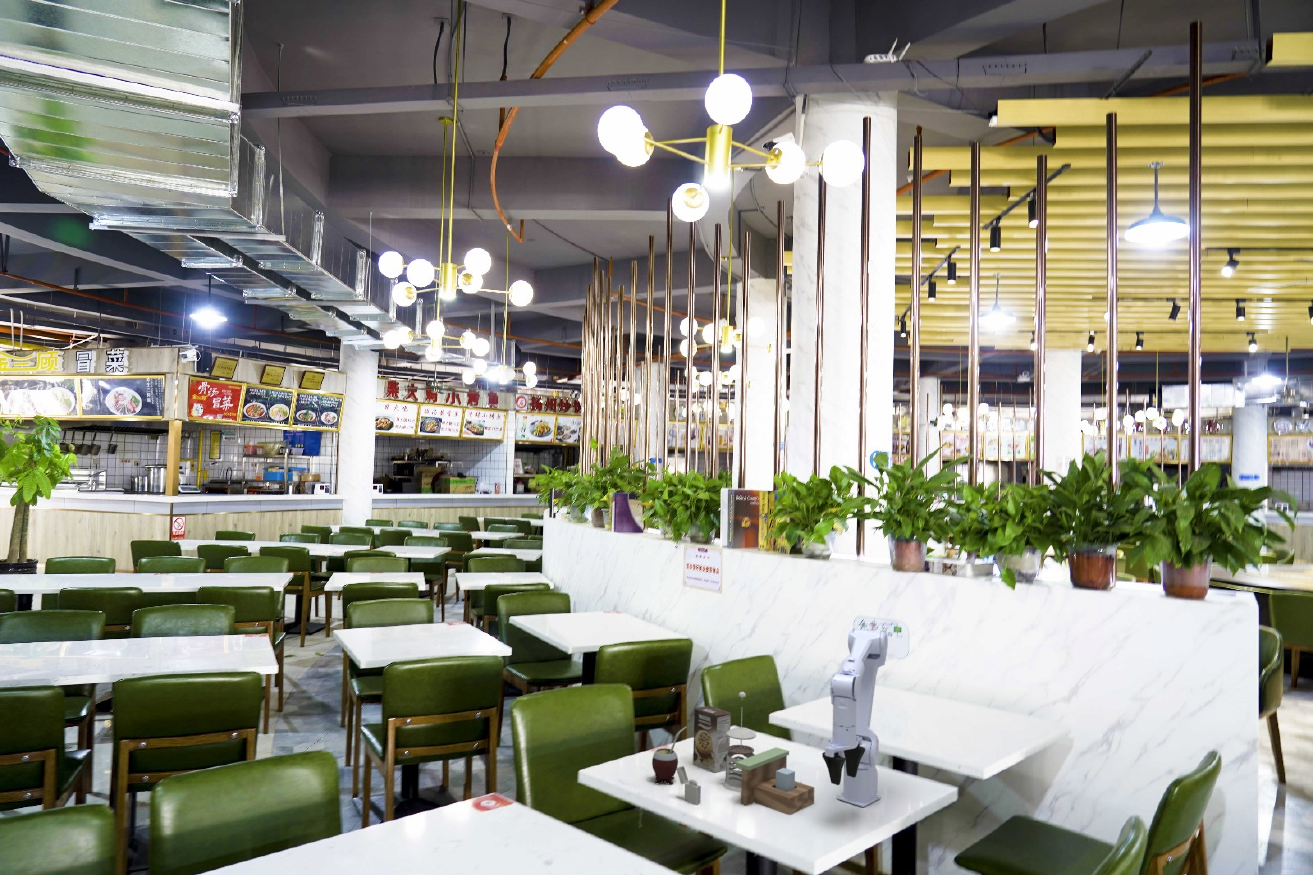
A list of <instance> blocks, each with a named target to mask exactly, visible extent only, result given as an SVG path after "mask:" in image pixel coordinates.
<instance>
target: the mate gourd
mask: <svg viewBox="0 0 1313 875" xmlns="http://www.w3.org/2000/svg"><path fill="white" fill-rule="evenodd" d="M687 728H688V727H687V726H686V725H685V727H683V728H681V729H680V730H678V732H677V733H676V734H675V735H674V740H673V743H672V745H671V748H658V749H656V750H655V752H654V753H653V756H652V759H651V761H652V762H651V766H652V769H653V772H654V775H655V781H654V784H656V783H658V784H662V783H666V784H668V783H669V784H668V785H673V784H674V782H673V780H675V777H674V775H675V774H676V772H677V770H676V768H678V767H679V766H678V765H679V758H678V754H677V753H676V751H675V750H674V748H675V746H676V742H677V739H678V738H679V737H680V734H681V733H682V732H683V731H684V730H686V729H687ZM661 782H662V783H661Z"/></svg>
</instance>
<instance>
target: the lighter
mask: <svg viewBox="0 0 1313 875" xmlns="http://www.w3.org/2000/svg"><path fill="white" fill-rule="evenodd" d="M676 772H677V776H678V779H679V783H680V784H681V785H684V802H687V803H690V804H692V805H695V806H698V805H699V804H701V798H702V797H701V794H702V793H701V792H702V791H701V788H702V786H701V785H699V784H698V782H697V780H695V779H689V778H688V775H687V772H686V769H685V766H684V765H680V766H677V768H676Z"/></svg>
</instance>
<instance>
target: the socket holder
mask: <svg viewBox="0 0 1313 875" xmlns="http://www.w3.org/2000/svg"><path fill="white" fill-rule="evenodd" d="M788 756H790V750H787V749H783V748H780V747H777V746H775V747H773V748H771V749H768V750H765V751H762V752H760V753H757V754H755V755H754V756H751V757H748V758H746V757H745V758H744V759H743V760H740V761H738V762H736V764H735V765H736V766H737V767H740V768H742V770H741V771H742V783H741V792H740V795H741V796H740V805H742V806H746V807H747V806H749V805H750V804H751V805H752V804H753V803H755V804H758V805H761V806H763V807H767V808H770V809H773V810H774V811H778V812H781V813H784V814H787V815H789V816H792V815H793V814H794V813H797V812H799V811H801V810H803V809H804V808H807V807H809V806H812V805H813V804H814V803H815V787H814V786H811V785H808V784H805V783H801V782H798V781H797V780H795V789H792V790H790V791H788V792H786V791H783V790H780V789H776V771H777V770H780V769H782V768H786V769H787V764H788V763H787V760H788V759H787V757H788Z"/></svg>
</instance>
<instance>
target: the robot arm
mask: <svg viewBox="0 0 1313 875" xmlns="http://www.w3.org/2000/svg"><path fill="white" fill-rule="evenodd" d="M847 635H848V636H847V647H848V650H849V654H850V655H849V656H848V657H845V658H844V659H843V661H842V663H841V665H840V668H839V670H838V672H837V673H835V674H834V675H832V676H831V680H830V682H829V683H830V684H829V693H830V699H831V700H830V702H831V705H832V737H830V738H828V743H829V744H828V745H827V746H826V747H824V752H822V755H821V756H822V759H823V761H824V762H825V764H826V767H827V771H828V775H829V778H830V783H831V784H833V785H835V786H840V784H841V780H842V778H843V785H842V787H843V789H842V792H843V793H841V794H839V795H837V796H836V799H837V800H840V801H843V802H845V803H848V804H853V805H855V806H858V807H861V808H865V807H866V806H868V805H870V804H872V803H874V802H875V801H878V800H879V799H882V797H881V795H879V793H878V791H879V790H878V787H879V786H878V785H879V780H878V779H879V774H878V773H879V772H878V769H877V768H876V767H877V766H876V765H877V763H878V761H879V754H880V749H879V744H880V740H879V737H878V734H876V733H875V732H874V731H873V730H872V729H871V728H870V727H871V722H872V713H873V712H872V711H873V703H874V696H875V687H876V678H877V674H878V671H879V668H881V667H882V666H885V664H886V661H887V654H888V647H889V646H888V643H889V642H888V640H889V638H888V635H887V633H886V631H877V630H876V631H874V630H866V629H857V628H856V629H855V628H851V629H850V630H849V632H848V634H847ZM842 773H843V776H842Z"/></svg>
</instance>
